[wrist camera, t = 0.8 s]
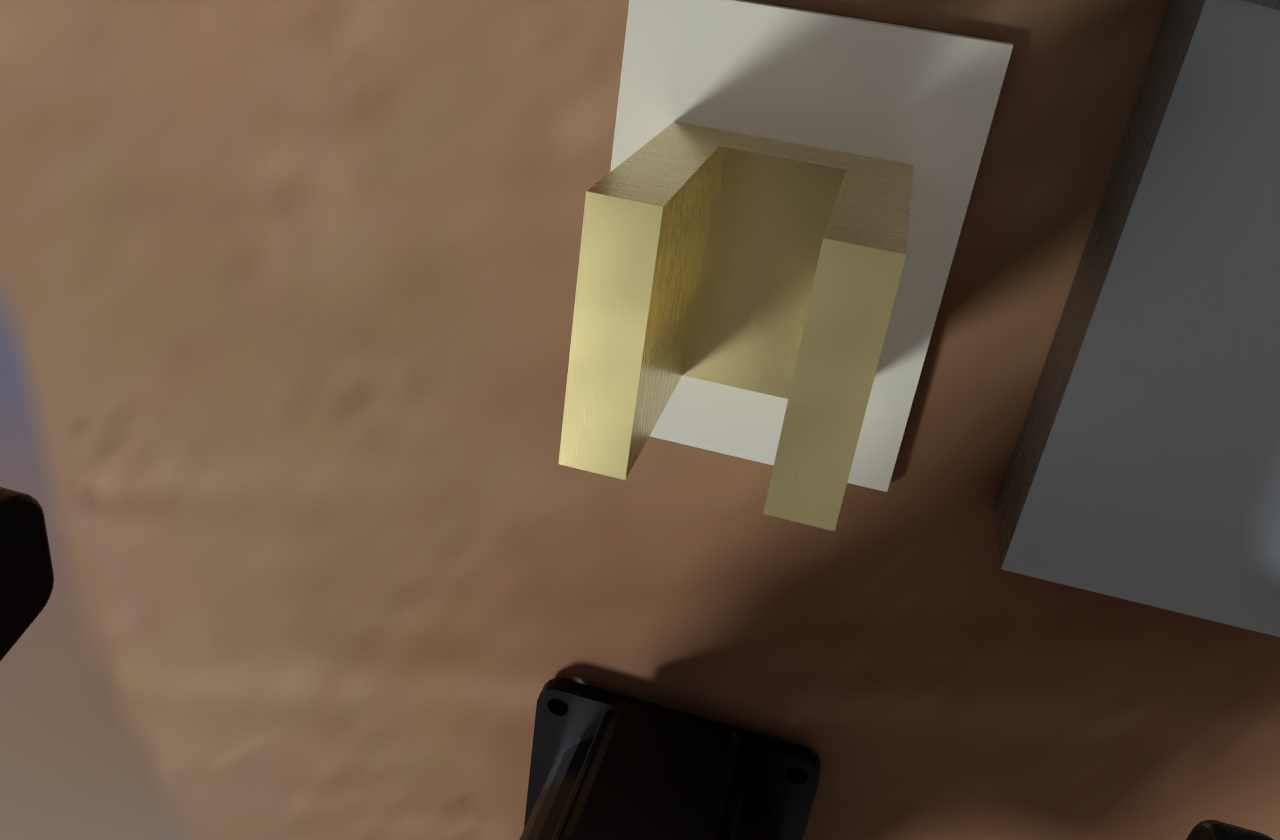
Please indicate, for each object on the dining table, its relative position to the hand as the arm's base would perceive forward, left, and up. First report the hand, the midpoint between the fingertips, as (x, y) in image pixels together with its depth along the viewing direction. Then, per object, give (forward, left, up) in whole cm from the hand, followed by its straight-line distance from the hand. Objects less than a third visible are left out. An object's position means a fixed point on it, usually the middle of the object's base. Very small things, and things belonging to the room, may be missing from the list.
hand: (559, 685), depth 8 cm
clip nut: (0, 0, -12) cm, 12 cm away
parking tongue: (0, 0, -12) cm, 12 cm away
